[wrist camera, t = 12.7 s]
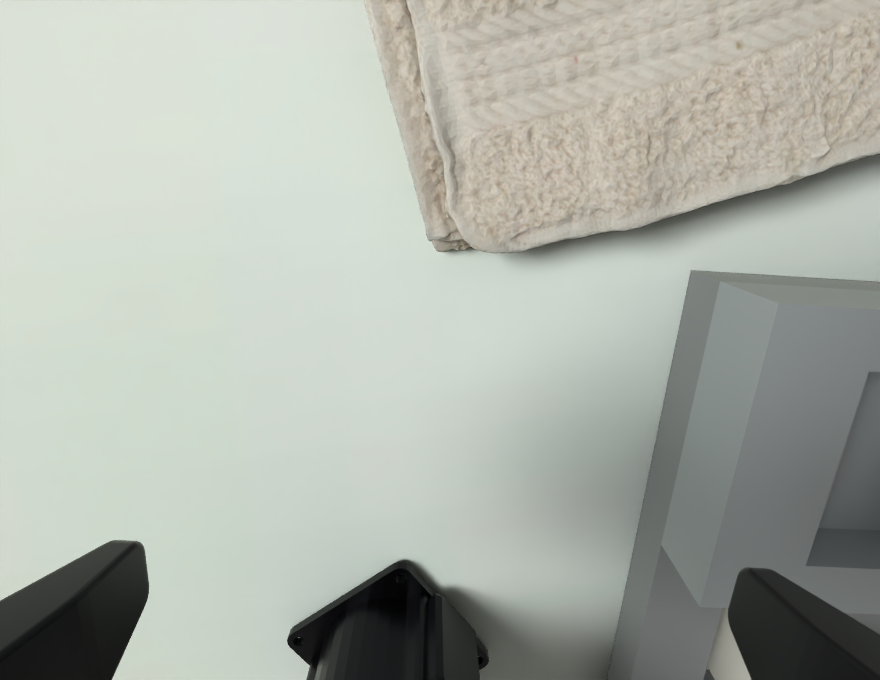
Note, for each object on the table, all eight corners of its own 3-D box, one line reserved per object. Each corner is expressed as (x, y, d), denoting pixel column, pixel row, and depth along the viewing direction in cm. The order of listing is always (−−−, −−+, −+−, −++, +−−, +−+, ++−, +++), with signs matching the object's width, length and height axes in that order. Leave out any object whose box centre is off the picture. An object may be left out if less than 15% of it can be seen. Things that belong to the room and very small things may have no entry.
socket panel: (833, 703, 25) (927, 828, 20) (603, 695, 25) (643, 820, 20) (990, 288, 19) (1175, 327, 14) (691, 270, 19) (778, 303, 14)
